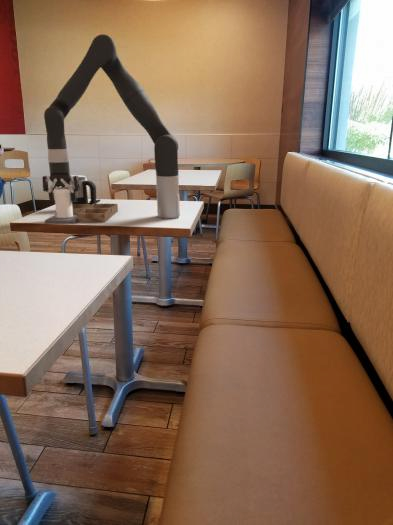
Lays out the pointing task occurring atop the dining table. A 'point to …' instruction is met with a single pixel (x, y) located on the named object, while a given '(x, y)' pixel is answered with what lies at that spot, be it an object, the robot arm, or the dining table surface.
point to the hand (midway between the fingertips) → (63, 201)
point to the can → (63, 203)
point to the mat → (57, 220)
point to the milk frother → (85, 192)
